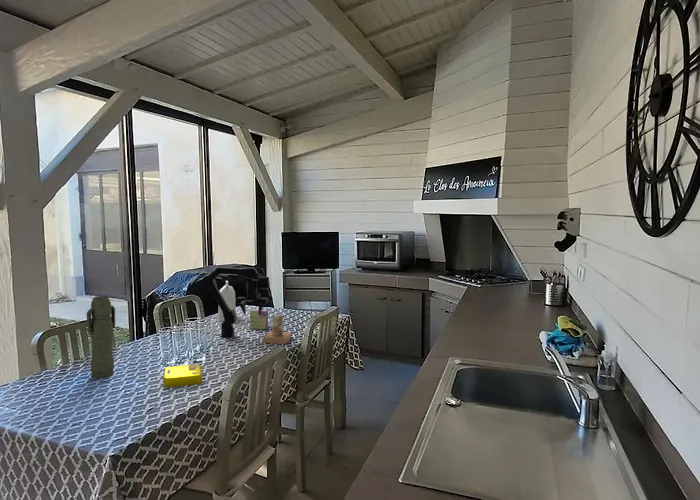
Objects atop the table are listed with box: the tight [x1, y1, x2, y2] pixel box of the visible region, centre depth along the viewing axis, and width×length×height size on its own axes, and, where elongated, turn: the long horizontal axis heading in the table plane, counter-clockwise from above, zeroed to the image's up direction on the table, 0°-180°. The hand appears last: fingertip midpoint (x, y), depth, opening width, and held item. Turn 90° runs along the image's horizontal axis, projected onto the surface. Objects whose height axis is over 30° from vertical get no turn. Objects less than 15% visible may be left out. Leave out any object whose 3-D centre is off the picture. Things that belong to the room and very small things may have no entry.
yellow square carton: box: [163, 363, 203, 388], centre depth 191 cm, size 15×15×5 cm
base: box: [262, 331, 292, 345], centre depth 255 cm, size 13×13×3 cm
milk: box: [217, 280, 237, 322], centre depth 304 cm, size 12×12×26 cm
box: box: [249, 308, 269, 330], centre depth 280 cm, size 10×6×12 cm, turn 84°
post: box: [271, 314, 284, 336], centre depth 254 cm, size 6×6×11 cm
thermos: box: [86, 295, 116, 380], centre depth 193 cm, size 9×12×35 cm
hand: (252, 314), depth 261 cm, fingers open, 9 cm apart
